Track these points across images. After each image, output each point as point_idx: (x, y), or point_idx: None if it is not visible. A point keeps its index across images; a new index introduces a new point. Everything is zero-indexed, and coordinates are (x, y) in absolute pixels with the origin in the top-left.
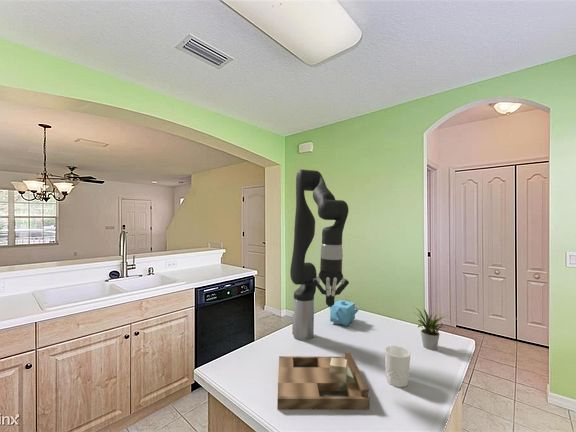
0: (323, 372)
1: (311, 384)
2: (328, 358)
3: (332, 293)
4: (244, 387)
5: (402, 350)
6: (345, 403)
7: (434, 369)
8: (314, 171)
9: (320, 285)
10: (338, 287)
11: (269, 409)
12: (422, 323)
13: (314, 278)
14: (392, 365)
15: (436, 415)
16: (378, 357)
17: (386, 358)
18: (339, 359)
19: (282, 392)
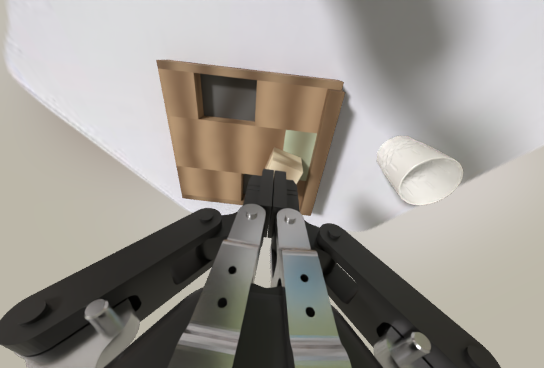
0: (258, 144)
1: (231, 176)
2: (284, 86)
3: (276, 259)
4: (125, 139)
5: (455, 167)
6: None
7: (518, 122)
8: None
9: (163, 277)
10: (348, 271)
11: (178, 188)
12: None
13: (12, 349)
14: (391, 184)
15: (383, 220)
16: (442, 45)
17: (393, 175)
18: (287, 169)
19: (187, 187)
